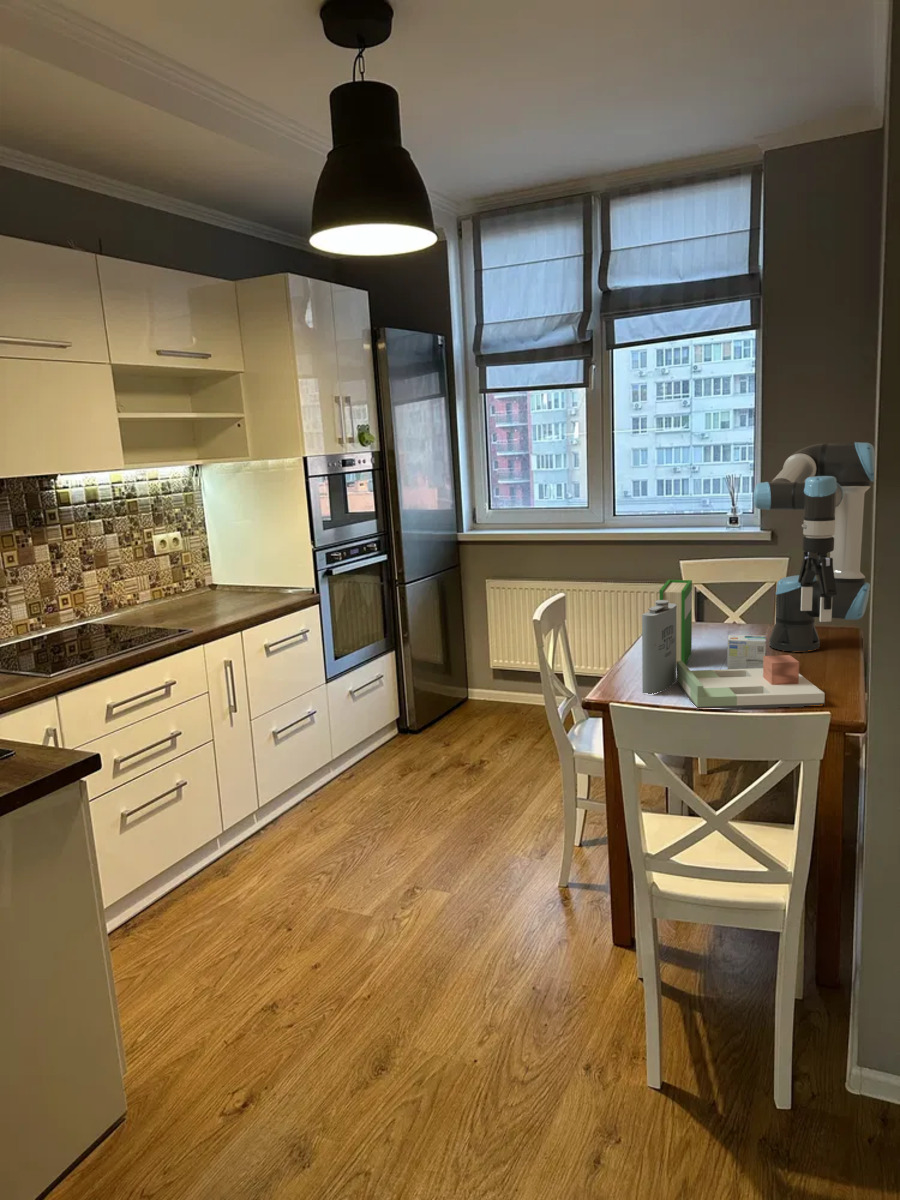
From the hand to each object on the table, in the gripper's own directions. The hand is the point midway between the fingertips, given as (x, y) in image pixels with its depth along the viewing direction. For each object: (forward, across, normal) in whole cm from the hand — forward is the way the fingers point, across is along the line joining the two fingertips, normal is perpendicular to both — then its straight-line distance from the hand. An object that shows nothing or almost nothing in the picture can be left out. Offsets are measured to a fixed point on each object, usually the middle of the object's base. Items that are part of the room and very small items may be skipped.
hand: (815, 615), depth 217 cm
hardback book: (+21, -35, -29) cm, 51 cm away
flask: (+21, -8, -39) cm, 45 cm away
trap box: (+21, 0, -18) cm, 27 cm away
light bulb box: (+21, -20, -12) cm, 31 cm away
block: (+18, 0, -9) cm, 20 cm away
